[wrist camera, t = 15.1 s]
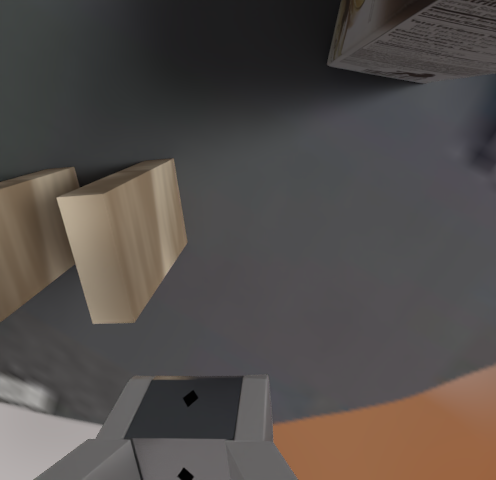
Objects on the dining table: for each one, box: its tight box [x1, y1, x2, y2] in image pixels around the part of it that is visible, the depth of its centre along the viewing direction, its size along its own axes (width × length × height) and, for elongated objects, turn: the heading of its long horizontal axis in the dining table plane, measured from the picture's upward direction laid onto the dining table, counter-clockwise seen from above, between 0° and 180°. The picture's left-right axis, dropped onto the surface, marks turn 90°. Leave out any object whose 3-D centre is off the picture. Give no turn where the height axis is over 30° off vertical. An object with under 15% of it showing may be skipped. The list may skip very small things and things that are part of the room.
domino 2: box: [56, 158, 187, 324], centre depth 20 cm, size 2×6×10 cm, turn 6°
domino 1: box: [0, 167, 80, 322], centre depth 20 cm, size 2×6×10 cm, turn 6°
